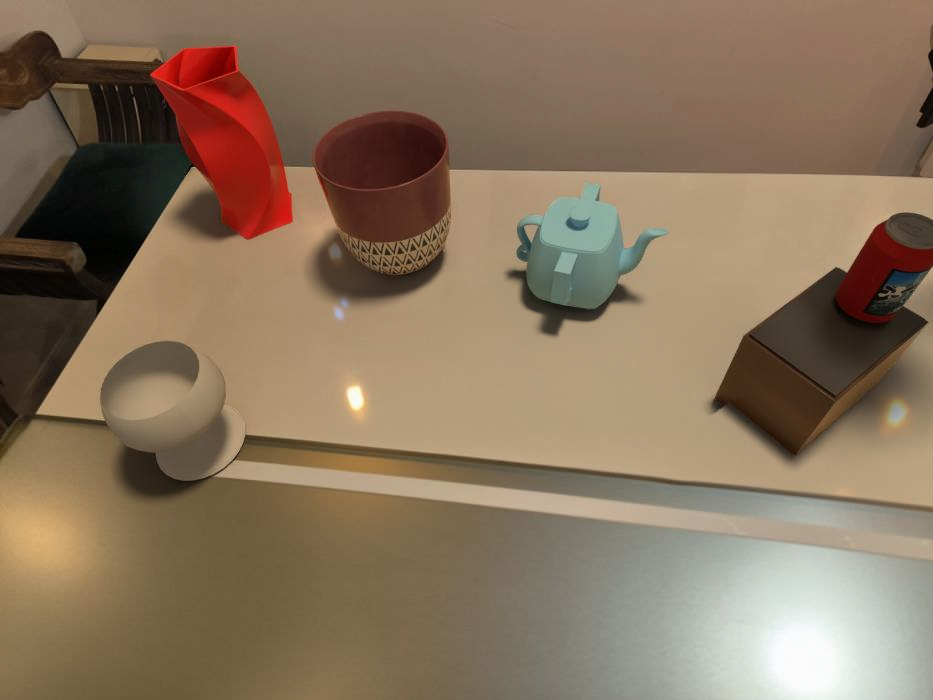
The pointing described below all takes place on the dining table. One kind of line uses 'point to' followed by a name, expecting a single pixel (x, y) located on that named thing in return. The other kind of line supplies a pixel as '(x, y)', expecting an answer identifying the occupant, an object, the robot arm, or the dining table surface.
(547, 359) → the dining table surface
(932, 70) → the robot arm
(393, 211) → the planter
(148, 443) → the chalice
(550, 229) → the teapot
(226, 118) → the vase
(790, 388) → the riser
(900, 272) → the beverage can
